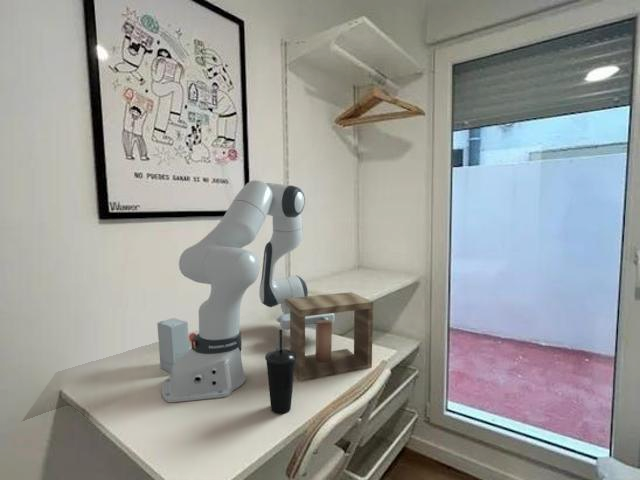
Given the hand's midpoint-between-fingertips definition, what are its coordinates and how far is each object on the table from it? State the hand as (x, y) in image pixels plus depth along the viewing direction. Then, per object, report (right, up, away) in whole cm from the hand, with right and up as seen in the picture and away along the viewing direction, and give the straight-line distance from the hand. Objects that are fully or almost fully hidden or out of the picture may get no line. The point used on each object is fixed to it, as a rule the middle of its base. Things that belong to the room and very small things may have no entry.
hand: (315, 326), depth 120 cm
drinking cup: (-8, -12, -34) cm, 37 cm away
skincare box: (-43, -10, -13) cm, 46 cm away
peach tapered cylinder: (+3, -9, -7) cm, 12 cm away
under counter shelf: (+4, -10, -10) cm, 14 cm away
